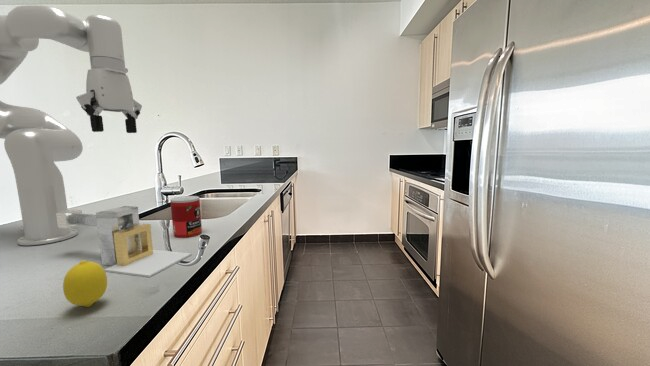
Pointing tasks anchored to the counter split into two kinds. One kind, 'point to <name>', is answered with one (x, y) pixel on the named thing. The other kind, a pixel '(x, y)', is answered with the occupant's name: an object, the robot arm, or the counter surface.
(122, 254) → the frame
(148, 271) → the mat
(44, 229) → the robot arm
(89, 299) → the lemon
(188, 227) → the canned food
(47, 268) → the counter surface
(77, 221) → the shaft
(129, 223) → the bearing block
